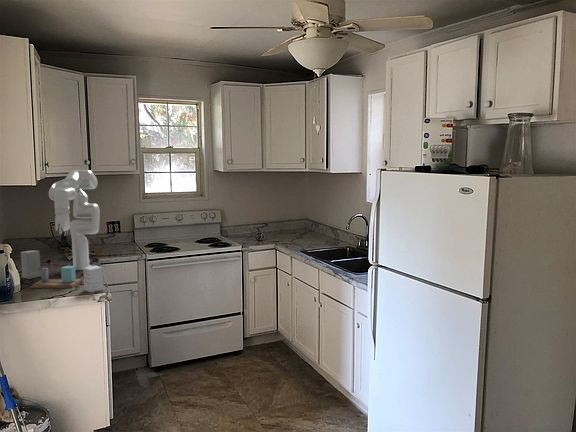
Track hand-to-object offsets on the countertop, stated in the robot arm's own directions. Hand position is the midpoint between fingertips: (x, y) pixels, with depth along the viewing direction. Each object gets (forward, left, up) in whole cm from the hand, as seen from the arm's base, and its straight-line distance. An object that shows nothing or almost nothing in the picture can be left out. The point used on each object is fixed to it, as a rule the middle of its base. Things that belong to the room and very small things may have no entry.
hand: (64, 242), depth 270 cm
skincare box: (-12, -25, -23) cm, 36 cm away
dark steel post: (+6, -9, -22) cm, 24 cm away
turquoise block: (+6, +4, -21) cm, 22 cm away
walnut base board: (+6, -3, -23) cm, 24 cm away
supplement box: (+18, +22, -23) cm, 37 cm away
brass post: (+6, +4, -22) cm, 23 cm away
